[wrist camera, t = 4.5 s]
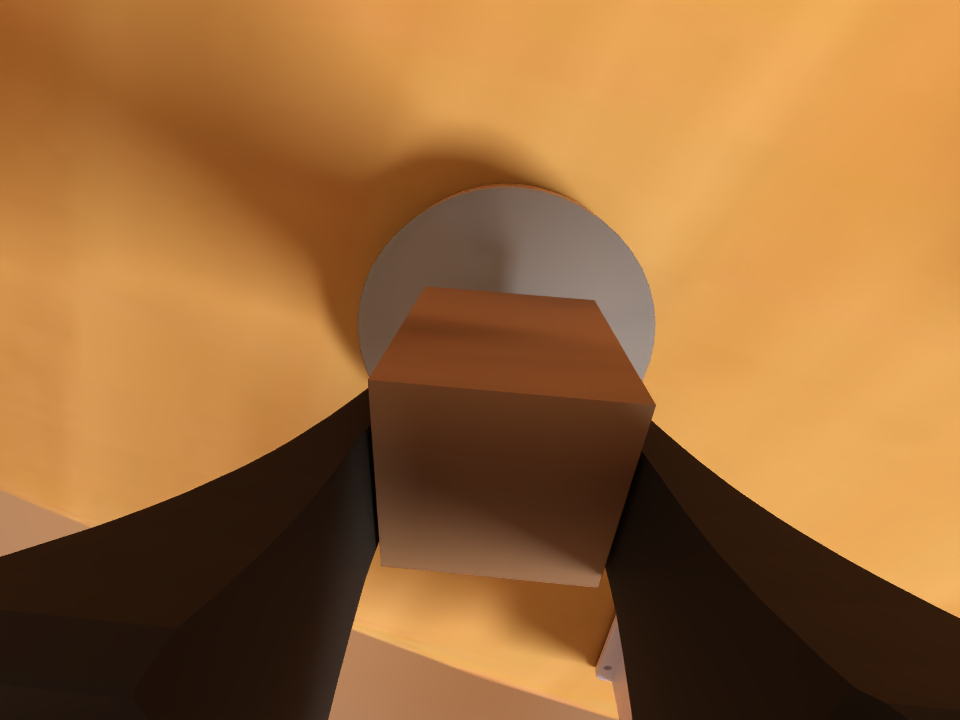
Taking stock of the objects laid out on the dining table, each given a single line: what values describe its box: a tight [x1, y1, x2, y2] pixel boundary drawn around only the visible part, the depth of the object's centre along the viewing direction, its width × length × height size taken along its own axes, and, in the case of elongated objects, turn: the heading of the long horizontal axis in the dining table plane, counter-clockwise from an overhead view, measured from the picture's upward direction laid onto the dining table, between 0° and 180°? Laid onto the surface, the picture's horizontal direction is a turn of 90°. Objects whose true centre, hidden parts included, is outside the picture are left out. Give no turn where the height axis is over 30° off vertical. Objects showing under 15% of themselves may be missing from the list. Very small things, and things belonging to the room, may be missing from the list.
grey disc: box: [358, 184, 655, 380], centre depth 15 cm, size 10×10×2 cm
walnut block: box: [368, 286, 656, 588], centre depth 10 cm, size 4×4×5 cm
